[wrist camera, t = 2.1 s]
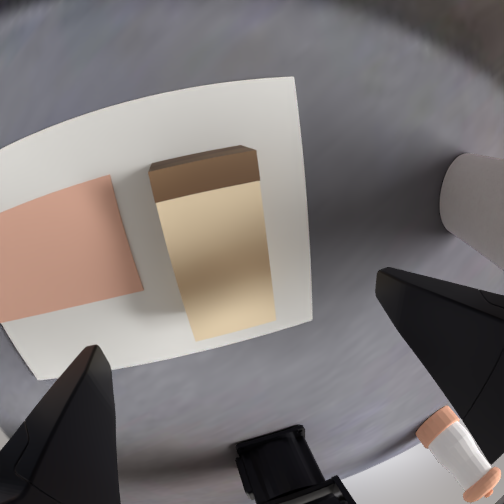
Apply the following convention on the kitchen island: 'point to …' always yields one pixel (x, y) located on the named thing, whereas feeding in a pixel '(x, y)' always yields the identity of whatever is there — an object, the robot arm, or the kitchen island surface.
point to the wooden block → (216, 238)
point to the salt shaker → (458, 454)
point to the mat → (138, 224)
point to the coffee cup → (475, 204)
